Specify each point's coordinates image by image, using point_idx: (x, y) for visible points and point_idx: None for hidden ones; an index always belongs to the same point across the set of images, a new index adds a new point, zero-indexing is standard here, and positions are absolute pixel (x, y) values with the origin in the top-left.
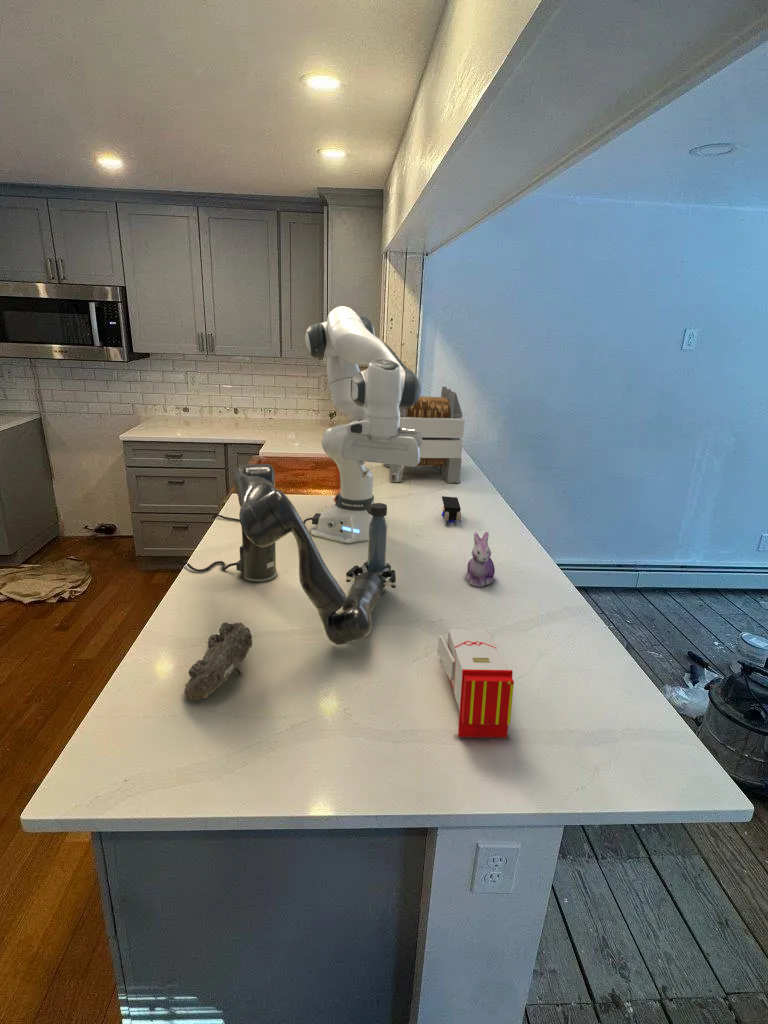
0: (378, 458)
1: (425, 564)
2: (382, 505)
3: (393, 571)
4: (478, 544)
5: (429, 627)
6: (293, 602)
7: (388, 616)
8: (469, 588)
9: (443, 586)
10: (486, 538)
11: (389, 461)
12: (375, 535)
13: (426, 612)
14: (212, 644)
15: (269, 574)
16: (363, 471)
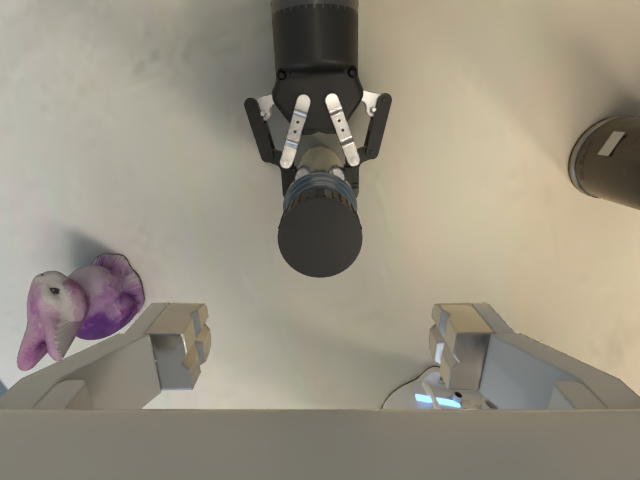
0: (337, 474)
1: (244, 321)
2: (302, 247)
3: (264, 153)
4: (48, 315)
5: (152, 25)
6: (499, 44)
7: (258, 48)
8: (123, 242)
9: (179, 234)
10: (22, 340)
11: (119, 438)
12: (320, 168)
13: (180, 98)
14: None
15: (592, 138)
16: (496, 335)
